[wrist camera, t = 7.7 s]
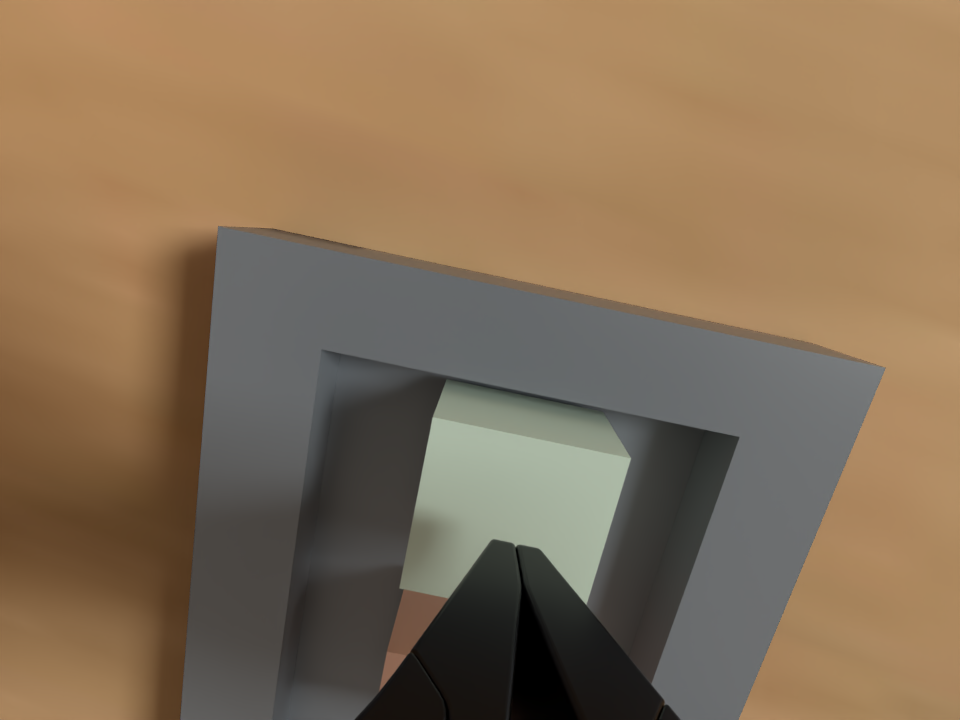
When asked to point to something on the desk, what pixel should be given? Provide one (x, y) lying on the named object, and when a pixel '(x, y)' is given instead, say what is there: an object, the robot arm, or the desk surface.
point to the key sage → (512, 486)
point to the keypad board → (401, 452)
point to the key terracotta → (409, 627)
